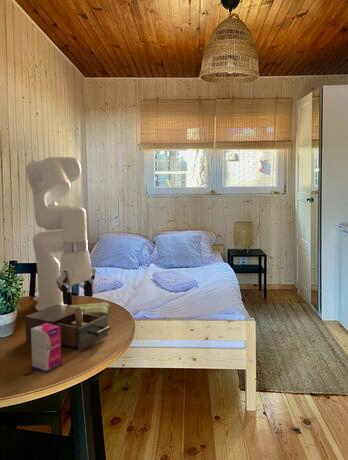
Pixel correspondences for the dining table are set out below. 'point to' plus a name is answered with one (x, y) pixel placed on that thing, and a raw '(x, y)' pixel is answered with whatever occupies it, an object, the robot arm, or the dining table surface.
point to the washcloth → (94, 308)
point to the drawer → (83, 331)
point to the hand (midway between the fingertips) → (78, 300)
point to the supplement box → (46, 347)
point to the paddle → (78, 318)
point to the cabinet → (47, 317)
